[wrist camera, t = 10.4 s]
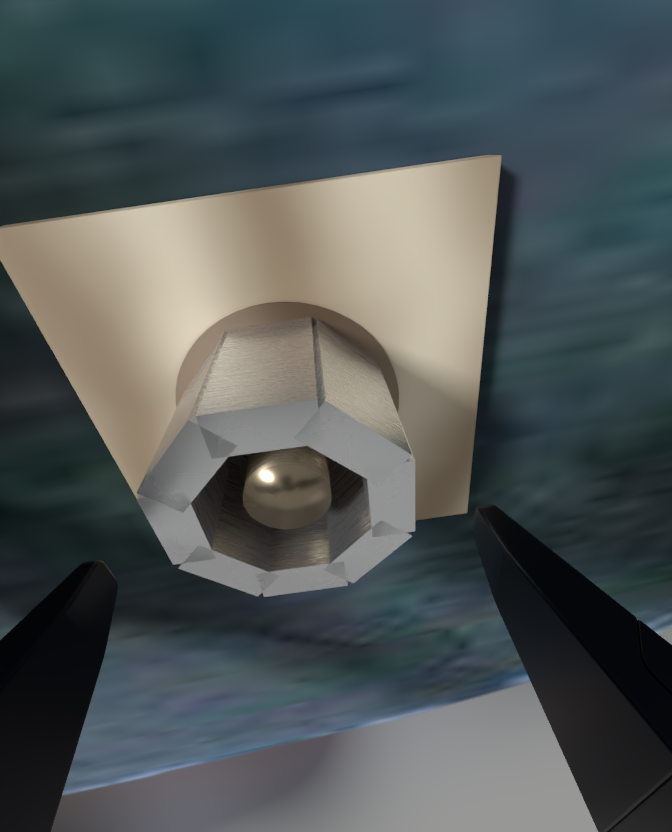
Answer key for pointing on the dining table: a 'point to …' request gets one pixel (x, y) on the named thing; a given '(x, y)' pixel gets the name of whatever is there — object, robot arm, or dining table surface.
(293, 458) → the bronze post
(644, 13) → the dining table surface
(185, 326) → the birch base board
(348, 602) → the dining table surface
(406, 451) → the aluminium ring
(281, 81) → the dining table surface
